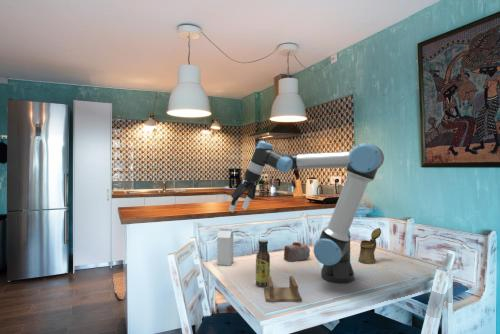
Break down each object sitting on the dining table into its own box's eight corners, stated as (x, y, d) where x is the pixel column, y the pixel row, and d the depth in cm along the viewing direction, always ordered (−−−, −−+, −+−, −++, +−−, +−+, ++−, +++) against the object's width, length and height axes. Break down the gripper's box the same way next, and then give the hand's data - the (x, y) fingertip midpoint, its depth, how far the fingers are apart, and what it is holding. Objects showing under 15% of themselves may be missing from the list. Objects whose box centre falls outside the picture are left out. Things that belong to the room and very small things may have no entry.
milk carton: (230, 266, 170) (230, 230, 170) (217, 265, 171) (217, 229, 171) (233, 262, 177) (233, 227, 177) (221, 261, 178) (220, 227, 178)
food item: (303, 256, 188) (302, 239, 188) (310, 260, 180) (310, 242, 180) (282, 259, 182) (282, 241, 182) (290, 263, 175) (290, 245, 175)
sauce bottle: (252, 285, 142) (252, 240, 142) (261, 281, 147) (261, 237, 147) (263, 288, 138) (263, 242, 138) (272, 284, 143) (272, 240, 143)
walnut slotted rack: (296, 289, 137) (296, 275, 137) (301, 301, 125) (301, 285, 125) (263, 290, 137) (263, 275, 137) (266, 301, 125) (266, 286, 125)
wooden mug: (385, 262, 176) (385, 229, 176) (365, 264, 171) (365, 231, 171) (374, 257, 184) (374, 226, 184) (354, 260, 179) (354, 228, 179)
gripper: (258, 169, 170) (243, 204, 173) (235, 167, 148) (218, 208, 151) (270, 175, 167) (254, 211, 170) (248, 174, 145) (230, 215, 148)
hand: (237, 209), depth 161 cm, fingers open, 13 cm apart
